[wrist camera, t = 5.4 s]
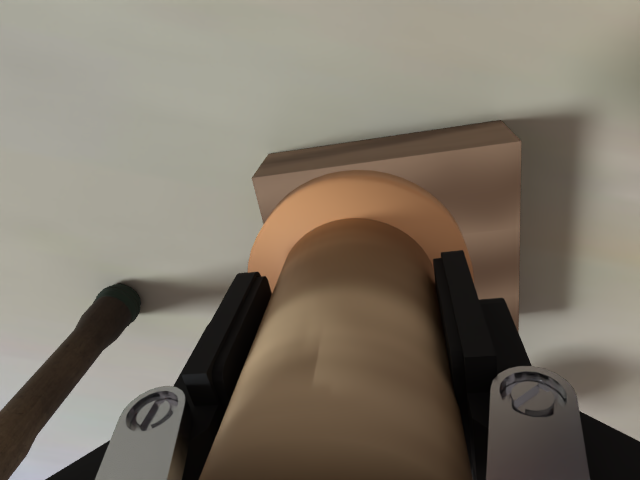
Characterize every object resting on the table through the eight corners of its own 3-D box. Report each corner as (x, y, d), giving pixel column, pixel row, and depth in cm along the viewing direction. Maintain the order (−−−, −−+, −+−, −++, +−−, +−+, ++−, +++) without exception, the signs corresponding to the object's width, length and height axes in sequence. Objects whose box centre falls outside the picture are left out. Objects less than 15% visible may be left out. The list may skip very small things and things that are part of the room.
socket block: (268, 154, 33) (251, 177, 29) (500, 120, 30) (521, 141, 26) (310, 329, 40) (301, 370, 36) (501, 315, 38) (517, 358, 33)
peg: (268, 143, 17) (58, 391, 6) (442, 115, 16) (569, 363, 5) (303, 286, 20) (199, 638, 9) (454, 271, 19) (553, 659, 8)
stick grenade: (92, 238, 39) (-526, 763, 12) (185, 287, 40) (-193, 858, 13) (67, 307, 42) (-445, 817, 16) (152, 349, 44) (-191, 887, 17)
